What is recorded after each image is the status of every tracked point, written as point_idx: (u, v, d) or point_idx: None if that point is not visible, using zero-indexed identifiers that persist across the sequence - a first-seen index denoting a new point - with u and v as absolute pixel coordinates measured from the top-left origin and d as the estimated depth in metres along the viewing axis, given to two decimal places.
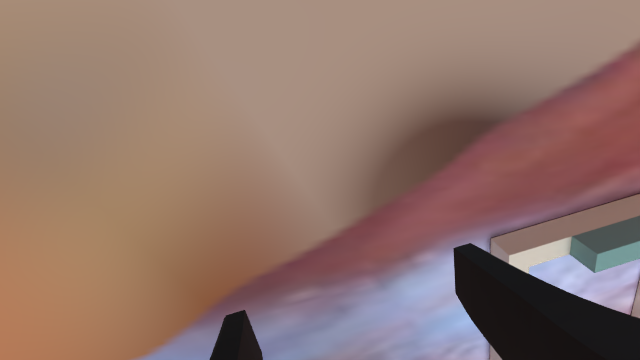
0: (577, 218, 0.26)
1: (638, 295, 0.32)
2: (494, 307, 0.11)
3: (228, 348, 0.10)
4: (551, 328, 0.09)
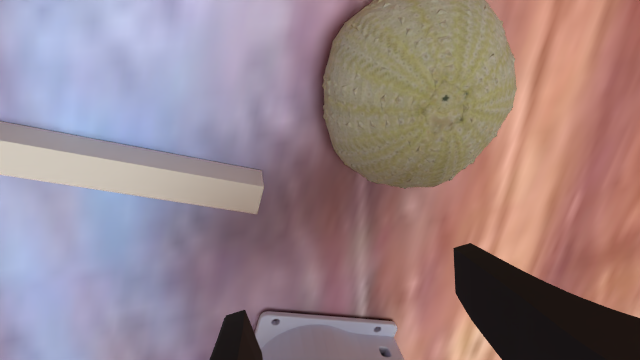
0: None
1: None
2: (494, 307, 0.11)
3: (228, 348, 0.10)
4: (551, 328, 0.09)
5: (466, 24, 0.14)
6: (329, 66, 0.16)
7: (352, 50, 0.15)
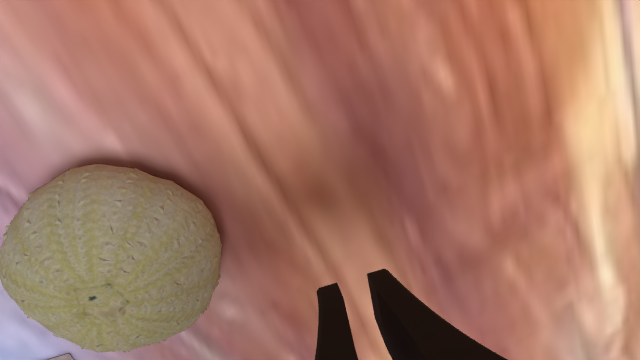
0: None
1: None
2: (396, 338, 0.11)
3: (335, 315, 0.10)
4: None
5: (59, 236, 0.14)
6: None
7: (3, 287, 0.16)
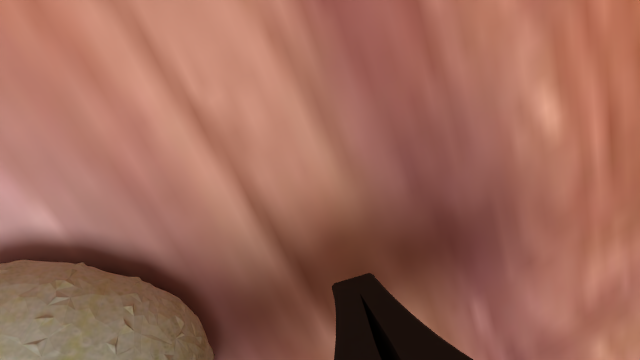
0: None
1: None
2: (379, 343, 0.11)
3: (353, 310, 0.10)
4: None
5: None
6: None
7: None
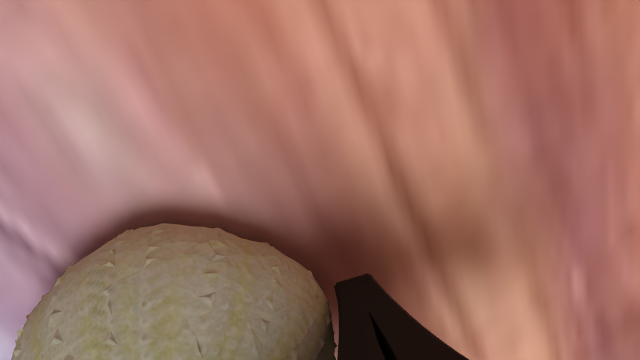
0: None
1: None
2: None
3: (356, 309, 0.10)
4: None
5: None
6: None
7: None
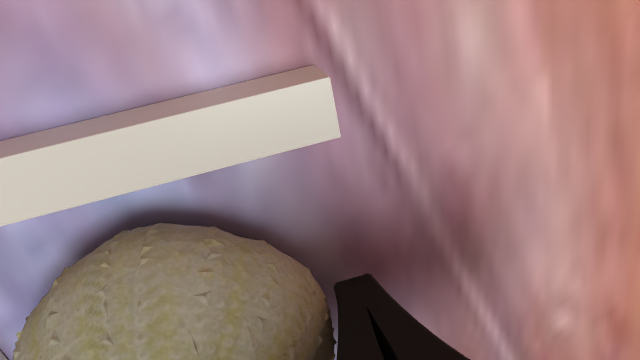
0: None
1: None
2: (377, 344, 0.11)
3: (355, 309, 0.10)
4: None
5: None
6: None
7: None
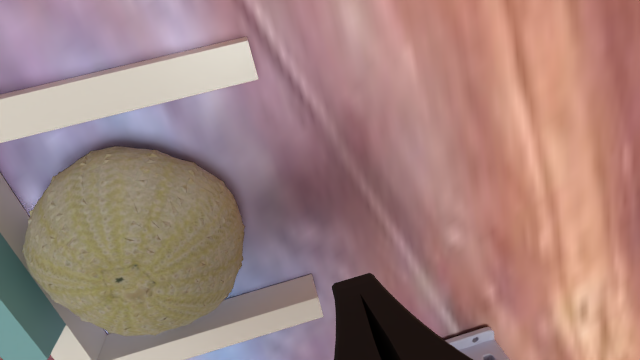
0: None
1: None
2: (379, 343, 0.11)
3: (353, 310, 0.10)
4: None
5: (85, 217, 0.14)
6: None
7: (30, 272, 0.16)
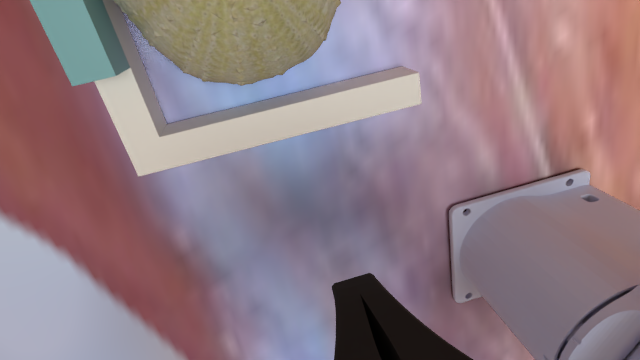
0: None
1: None
2: (379, 343, 0.11)
3: (353, 310, 0.10)
4: None
5: None
6: None
7: None
